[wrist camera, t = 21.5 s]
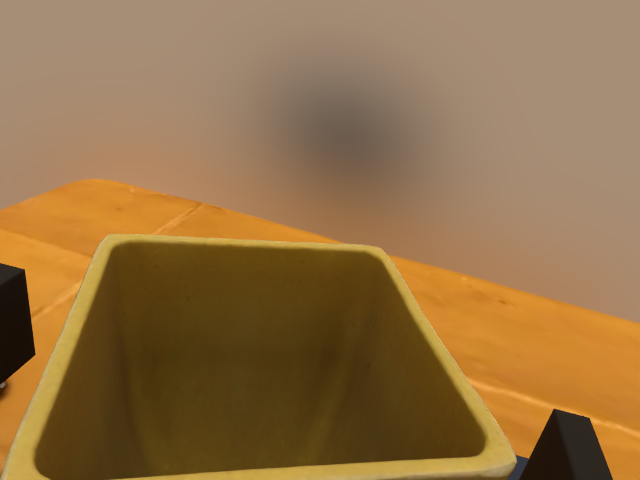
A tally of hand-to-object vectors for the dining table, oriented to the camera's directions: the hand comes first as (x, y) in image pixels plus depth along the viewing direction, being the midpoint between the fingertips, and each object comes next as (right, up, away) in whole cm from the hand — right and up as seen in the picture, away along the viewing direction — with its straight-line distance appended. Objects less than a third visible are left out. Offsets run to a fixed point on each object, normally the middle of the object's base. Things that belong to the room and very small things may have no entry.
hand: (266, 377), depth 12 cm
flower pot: (-1, -7, +4) cm, 8 cm away
